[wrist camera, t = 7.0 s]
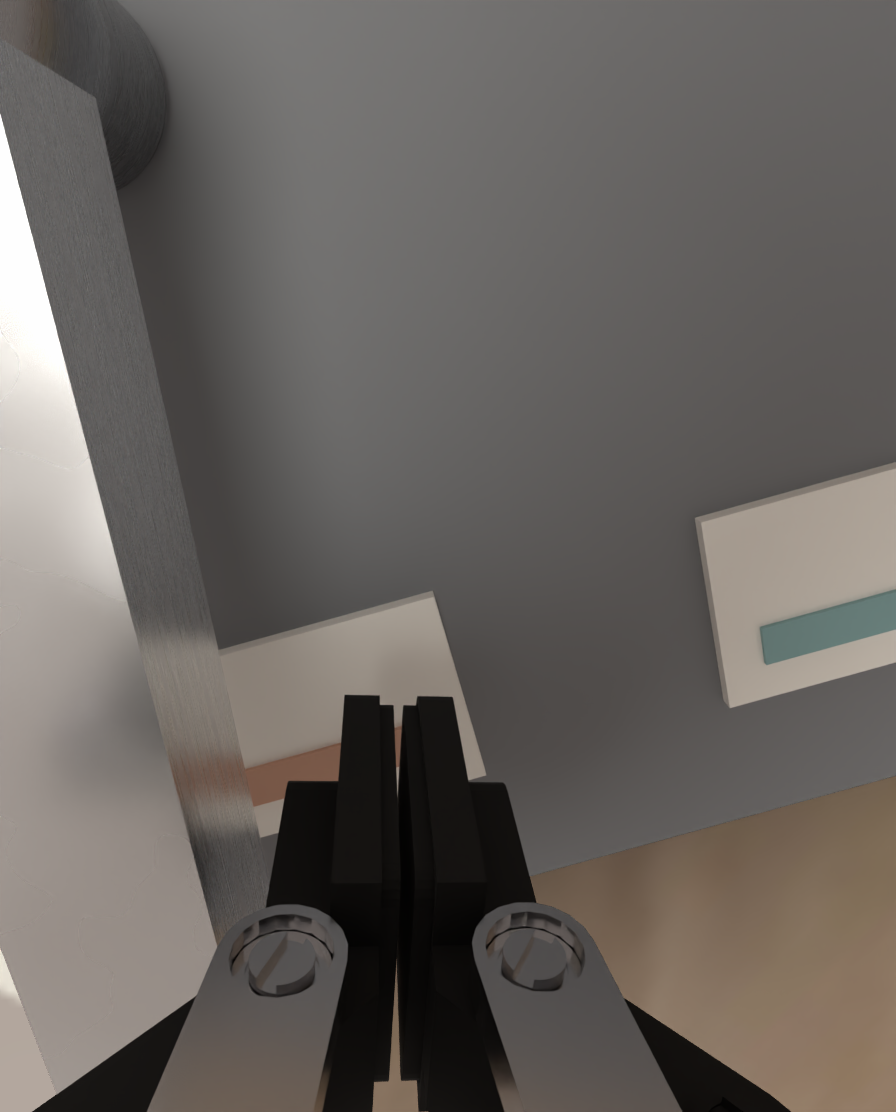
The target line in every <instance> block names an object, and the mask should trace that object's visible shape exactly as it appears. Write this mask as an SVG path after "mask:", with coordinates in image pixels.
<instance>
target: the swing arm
mask: <svg viewBox="0 0 896 1112" xmlns="http://www.w3.org/2000/svg"><path fill="white" fill-rule="evenodd" d="M166 112H167V104H166V90H165V83H164V78H163V74H162V70H161V67H160V64H159V61H158V59H157V56H156V53H155V51H154V49H153V47H152V45H151V43H150V41H149V39H148V38H147V36H146V35H145V33H144V32H143V30H142V28H141V27H140V25H139V24H138V23H137V22H136V21H135V19H134V18H133V17H132V16H131V14H130V13H129V12H128V11H127V10H126V9H125V8H124V7H123V6H122V5H121V4H120V3H119V2H118V1H117V0H0V948H1V951H2V953H3V956H4V958H5V961H6V964H7V966H8V969H9V971H10V974H11V977H12V979H13V982H14V985H15V987H16V990H17V992H18V995H19V998H20V1000H21V1003H22V1005H23V1008H24V1011H25V1013H26V1016H27V1018H28V1021H29V1023H30V1026H31V1029H32V1031H33V1034H34V1037H35V1039H36V1042H37V1044H38V1047H39V1050H40V1052H41V1055H42V1057H43V1060H44V1063H45V1065H46V1068H47V1070H48V1073H49V1076H50V1078H51V1080H52V1084H53V1086H54V1089H55V1091H56V1094H58V1093H59V1092H61V1091H62V1090H64V1089H65V1088H67V1087H68V1086H69V1085H71V1084H72V1083H74V1082H75V1081H76V1080H78V1079H79V1078H81V1077H82V1076H83V1075H85V1074H86V1073H88V1072H89V1071H91V1070H92V1069H93V1068H95V1067H96V1066H98V1065H99V1064H100V1063H102V1062H103V1061H105V1060H106V1059H108V1058H109V1057H110V1056H112V1055H113V1054H115V1053H116V1052H117V1051H119V1050H120V1049H122V1048H123V1047H124V1046H126V1045H127V1044H129V1043H130V1042H132V1041H133V1040H134V1039H136V1038H137V1037H139V1036H140V1035H141V1034H143V1033H144V1032H146V1031H147V1030H149V1029H150V1028H151V1027H153V1026H154V1025H156V1024H157V1023H158V1022H160V1021H161V1020H163V1019H164V1018H165V1017H167V1016H168V1015H170V1014H171V1013H173V1012H174V1011H175V1010H177V1009H178V1008H180V1007H181V1006H182V1005H184V1004H185V1003H187V1002H188V1001H190V1000H191V999H192V998H194V997H195V996H196V995H197V993H198V991H199V988H200V986H201V984H202V981H203V979H204V977H205V974H206V972H207V970H208V967H209V965H210V963H211V960H212V958H213V955H214V953H215V951H216V948H217V946H218V945H219V943H220V941H221V940H222V938H223V937H224V935H225V934H226V932H227V931H228V930H229V929H230V928H231V927H232V926H233V925H235V924H236V923H237V922H238V921H239V920H240V919H242V918H243V917H245V916H247V915H249V914H251V913H253V912H255V911H257V910H259V909H263V908H266V902H267V896H268V891H269V885H270V880H269V875H268V871H267V866H266V862H265V857H264V853H263V848H262V844H261V839H260V835H259V830H258V826H257V821H256V817H255V812H254V808H253V803H252V799H251V794H250V790H249V785H248V781H247V776H246V772H245V767H244V763H243V758H242V754H241V749H240V745H239V740H238V736H237V731H236V727H235V722H234V718H233V713H232V709H231V704H230V700H229V696H228V691H227V687H226V682H225V678H224V673H223V669H222V664H221V660H220V655H219V651H218V646H217V642H216V637H215V633H214V628H213V624H212V619H211V615H210V610H209V606H208V601H207V597H206V592H205V588H204V583H203V579H202V574H201V570H200V565H199V561H198V556H197V552H196V547H195V543H194V538H193V534H192V529H191V525H190V520H189V516H188V511H187V507H186V502H185V498H184V493H183V489H182V484H181V480H180V475H179V471H178V466H177V462H176V457H175V453H174V448H173V444H172V439H171V435H170V430H169V426H168V421H167V417H166V412H165V408H164V403H163V399H162V394H161V390H160V386H159V381H158V377H157V372H156V368H155V363H154V359H153V354H152V350H151V345H150V341H149V336H148V332H147V327H146V323H145V318H144V314H143V309H142V305H141V300H140V296H139V291H138V287H137V282H136V278H135V273H134V269H133V264H132V260H131V255H130V251H129V246H128V242H127V237H126V233H125V228H124V224H123V219H122V215H121V210H120V206H119V201H118V197H117V192H116V191H118V190H120V189H122V188H124V187H125V186H127V185H128V184H130V183H131V182H132V181H134V180H135V179H136V178H137V177H138V176H139V175H140V174H141V173H142V172H143V171H144V170H145V169H146V167H147V166H148V165H149V163H150V162H151V161H152V159H153V157H154V155H155V153H156V152H157V150H158V147H159V144H160V142H161V139H162V136H163V132H164V127H165V121H166Z"/></svg>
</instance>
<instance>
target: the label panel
mask: <svg viewBox="0 0 896 1112" xmlns="http://www.w3.org/2000/svg"><path fill="white" fill-rule="evenodd" d="M117 1H118V2H119V3H120V4H121V5H122V6H123V7H124V8H125V9H126V10H127V11H128V12H129V13H130V14H131V16H132V17H133V18H134V19H135V21H136V22H137V23H138V24H139V25H140V27H141V28H142V30H143V32H144V33H145V35H146V36H147V38H148V39H149V41H150V43H151V45H152V47H153V49H154V51H155V53H156V56H157V59H158V61H159V64H160V67H161V70H162V74H163V78H164V83H165V90H166V104H167V112H166V121H165V127H164V132H163V136H162V139H161V142H160V144H159V147H158V150H157V152H156V153H155V155H154V157H153V159H152V161H151V162H150V163H149V165H148V166H147V167H146V169H145V170H144V171H143V172H142V173H141V174H140V175H139V176H138V177H137V178H136V179H135V180H134V181H132V182H131V183H130V184H128V185H127V186H125V187H124V188H122V189H120V190H118V191H116V192H117V197H118V201H119V206H120V210H121V215H122V219H123V224H124V228H125V233H126V237H127V242H128V246H129V251H130V255H131V260H132V264H133V269H134V273H135V278H136V282H137V287H138V291H139V296H140V300H141V305H142V309H143V314H144V318H145V323H146V327H147V332H148V336H149V341H150V345H151V350H152V354H153V359H154V363H155V368H156V372H157V377H158V381H159V386H160V390H161V394H162V399H163V403H164V408H165V412H166V417H167V421H168V426H169V430H170V435H171V439H172V444H173V448H174V453H175V457H176V462H177V466H178V471H179V475H180V480H181V484H182V489H183V493H184V498H185V502H186V507H187V511H188V516H189V520H190V525H191V529H192V534H193V538H194V543H195V547H196V552H197V556H198V561H199V565H200V570H201V574H202V579H203V583H204V588H205V592H206V597H207V601H208V606H209V610H210V615H211V619H212V624H213V628H214V633H215V637H216V642H217V646H218V651H219V655H220V660H221V664H222V669H223V673H224V678H225V682H226V687H227V691H228V696H229V700H230V704H231V709H232V713H233V718H234V722H235V727H236V731H237V736H238V740H239V745H240V749H241V754H242V758H243V763H244V767H245V772H246V776H247V781H248V785H249V790H250V794H251V799H252V803H253V808H254V812H255V817H256V821H257V826H258V830H259V835H260V839H261V844H262V848H263V853H264V857H265V862H266V866H267V871H268V875H269V880H270V879H271V873H272V867H273V862H274V856H275V850H276V844H277V838H278V833H279V827H280V821H281V815H282V810H283V804H284V798H285V792H286V787H287V783H288V781H338V777H339V763H340V749H341V736H342V722H343V708H344V695H380V705H394V726H395V750H396V773H397V797H398V780H399V763H400V746H401V729H402V713H403V705H416V700H417V696H443V697H453V700H454V705H455V711H456V716H457V722H458V727H459V732H460V738H461V743H462V749H463V754H464V759H465V765H466V770H467V776H468V781H469V782H503V783H504V784H505V785H506V788H507V790H508V794H509V798H510V802H511V806H512V810H513V814H514V818H515V821H516V825H517V829H518V833H519V837H520V841H521V845H522V849H523V853H524V856H525V860H526V864H527V868H528V872H529V876H533V875H537V874H541V873H544V872H548V871H551V870H555V869H559V868H562V867H566V866H570V865H573V864H577V863H581V862H584V861H588V860H591V859H595V858H599V857H602V856H606V855H610V854H613V853H617V852H621V851H624V850H628V849H631V848H635V847H639V846H642V845H646V844H650V843H653V842H657V841H661V840H664V839H668V838H671V837H675V836H679V835H682V834H686V833H690V832H693V831H697V830H701V829H704V828H708V827H711V826H715V825H719V824H722V823H726V822H730V821H733V820H737V819H741V818H744V817H748V816H751V815H755V814H759V813H762V812H766V811H770V810H773V809H777V808H781V807H784V806H788V805H791V804H795V803H799V802H802V801H806V800H810V799H813V798H817V797H821V796H824V795H828V794H831V793H835V792H839V791H842V790H846V789H850V788H853V787H857V786H861V785H864V784H868V783H871V782H875V781H879V780H882V779H886V778H890V777H893V776H896V0H117Z"/></svg>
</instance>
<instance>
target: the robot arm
mask: <svg viewBox="0 0 896 1112" xmlns="http://www.w3.org/2000/svg"><path fill="white" fill-rule="evenodd" d="M396 959H397V981H398V1012H399V1043H400V1073H401V1081H409V1080H417V1090H418V1109H419V1112H422V1111H428V1112H791V1111H790V1110H788V1109H787V1108H786V1107H785V1106H783V1105H782V1104H781V1103H780V1102H779V1101H777V1100H776V1099H775V1098H774V1097H772V1096H771V1095H770V1094H768V1093H767V1092H765V1091H764V1090H762V1089H761V1088H759V1087H758V1086H756V1085H755V1084H753V1083H752V1082H750V1081H749V1080H747V1079H746V1078H744V1077H743V1076H741V1075H740V1074H738V1073H737V1072H735V1071H734V1070H732V1069H731V1068H729V1067H727V1066H726V1065H724V1064H723V1063H721V1062H720V1061H718V1060H717V1059H715V1058H714V1057H712V1056H711V1055H709V1054H708V1053H706V1052H705V1051H703V1050H702V1049H700V1048H699V1047H697V1046H696V1045H694V1044H693V1043H691V1042H690V1041H688V1040H687V1039H685V1038H684V1037H682V1036H681V1035H679V1034H678V1033H676V1032H675V1031H673V1030H672V1029H670V1028H669V1027H667V1026H666V1025H664V1024H662V1023H661V1022H659V1021H658V1020H656V1019H655V1018H653V1017H652V1016H650V1015H649V1014H647V1013H646V1012H644V1011H643V1010H641V1009H640V1008H638V1007H637V1006H635V1005H634V1004H632V1003H631V1002H629V1001H628V1000H626V999H625V998H623V996H622V994H621V992H620V990H619V988H618V986H617V984H616V982H615V980H614V979H613V977H612V975H611V973H610V971H609V969H608V967H607V965H606V963H605V961H604V959H603V957H602V955H601V953H600V951H599V950H598V948H597V946H596V944H595V942H594V940H593V939H592V937H591V936H590V935H589V933H588V932H587V930H586V929H585V928H584V926H582V925H581V924H580V923H579V922H577V921H576V920H575V919H574V918H572V917H571V916H570V915H568V914H566V913H564V912H562V911H560V910H558V909H556V908H554V907H551V906H547V905H542V904H538V903H536V899H535V895H534V891H533V888H532V884H531V880H530V876H529V872H528V868H527V864H526V860H525V856H524V853H523V849H522V845H521V841H520V837H519V833H518V829H517V825H516V821H515V818H514V814H513V810H512V806H511V802H510V798H509V794H508V790H507V788H506V785H505V784H504V783H503V782H469V781H468V776H467V770H466V765H465V759H464V754H463V749H462V743H461V738H460V732H459V727H458V722H457V716H456V711H455V705H454V700H453V697H443V696H417V700H416V705H403V713H402V729H401V746H400V763H399V780H398V797H397V773H396V750H395V726H394V705H380V695H344V708H343V722H342V736H341V749H340V763H339V777H338V781H288V783H287V787H286V792H285V798H284V804H283V810H282V815H281V821H280V827H279V833H278V838H277V844H276V850H275V856H274V862H273V867H272V873H271V879H270V885H269V891H268V896H267V902H266V908H263V909H259V910H257V911H255V912H253V913H251V914H249V915H247V916H245V917H243V918H242V919H240V920H239V921H238V922H237V923H236V924H235V925H233V926H232V927H231V928H230V929H229V930H228V931H227V932H226V934H225V935H224V937H223V938H222V940H221V941H220V943H219V945H218V946H217V948H216V951H215V953H214V955H213V958H212V960H211V963H210V965H209V967H208V970H207V972H206V974H205V977H204V979H203V981H202V984H201V986H200V988H199V991H198V993H197V995H196V996H195V997H194V998H192V999H191V1000H190V1001H188V1002H187V1003H185V1004H184V1005H182V1006H181V1007H180V1008H178V1009H177V1010H175V1011H174V1012H173V1013H171V1014H170V1015H168V1016H167V1017H165V1018H164V1019H163V1020H161V1021H160V1022H158V1023H157V1024H156V1025H154V1026H153V1027H151V1028H150V1029H149V1030H147V1031H146V1032H144V1033H143V1034H141V1035H140V1036H139V1037H137V1038H136V1039H134V1040H133V1041H132V1042H130V1043H129V1044H127V1045H126V1046H124V1047H123V1048H122V1049H120V1050H119V1051H117V1052H116V1053H115V1054H113V1055H112V1056H110V1057H109V1058H108V1059H106V1060H105V1061H103V1062H102V1063H100V1064H99V1065H98V1066H96V1067H95V1068H93V1069H92V1070H91V1071H89V1072H88V1073H86V1074H85V1075H83V1076H82V1077H81V1078H79V1079H78V1080H76V1081H75V1082H74V1083H72V1084H71V1085H69V1086H68V1087H67V1088H65V1089H64V1090H62V1091H61V1092H59V1093H58V1094H57V1095H55V1096H54V1097H52V1098H51V1099H50V1100H48V1101H47V1102H46V1103H44V1104H42V1105H41V1106H40V1107H38V1108H37V1109H35V1110H34V1111H33V1112H372V1107H373V1089H374V1082H382V1081H389V1069H390V1053H391V1037H392V1022H393V1006H394V990H395V974H396Z"/></svg>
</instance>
